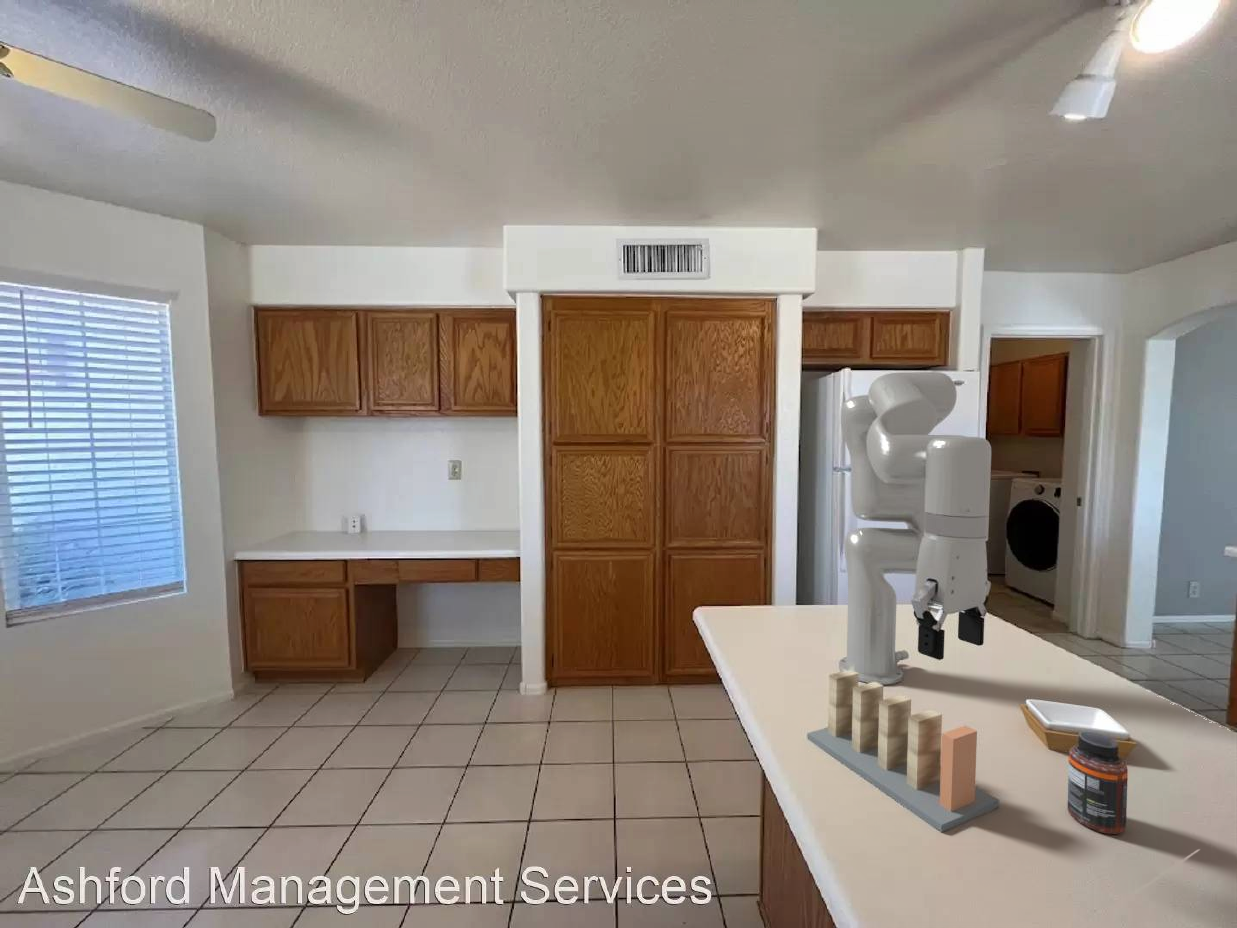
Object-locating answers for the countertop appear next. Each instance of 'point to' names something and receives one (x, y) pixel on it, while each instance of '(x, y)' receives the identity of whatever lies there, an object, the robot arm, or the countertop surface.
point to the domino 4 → (924, 748)
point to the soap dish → (1073, 725)
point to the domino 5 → (958, 767)
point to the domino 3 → (893, 731)
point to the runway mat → (901, 783)
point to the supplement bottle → (1097, 784)
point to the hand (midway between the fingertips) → (951, 648)
